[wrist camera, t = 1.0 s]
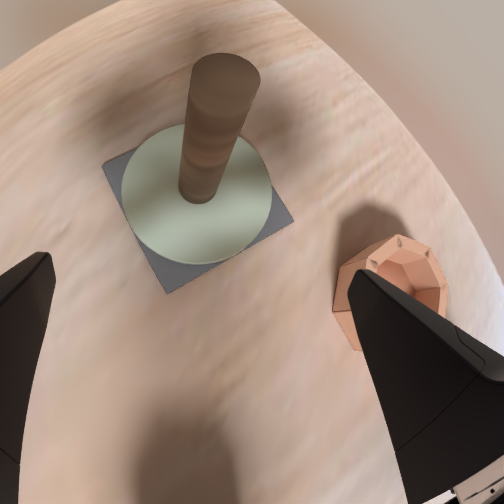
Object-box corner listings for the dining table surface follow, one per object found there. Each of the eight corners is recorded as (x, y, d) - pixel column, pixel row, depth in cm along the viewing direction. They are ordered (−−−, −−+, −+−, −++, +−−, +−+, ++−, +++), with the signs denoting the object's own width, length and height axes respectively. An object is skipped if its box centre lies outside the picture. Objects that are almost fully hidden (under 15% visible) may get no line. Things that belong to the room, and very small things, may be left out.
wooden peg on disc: (294, 221, 25) (392, 141, 13) (166, 293, 21) (161, 259, 9) (223, 112, 25) (263, -6, 13) (101, 165, 22) (63, 45, 10)
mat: (292, 222, 25) (294, 221, 25) (167, 294, 22) (166, 293, 21) (222, 115, 26) (223, 112, 25) (102, 168, 22) (101, 165, 22)
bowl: (428, 313, 27) (458, 310, 23) (367, 374, 24) (396, 380, 20) (387, 231, 27) (415, 219, 23) (315, 283, 24) (341, 276, 21)
